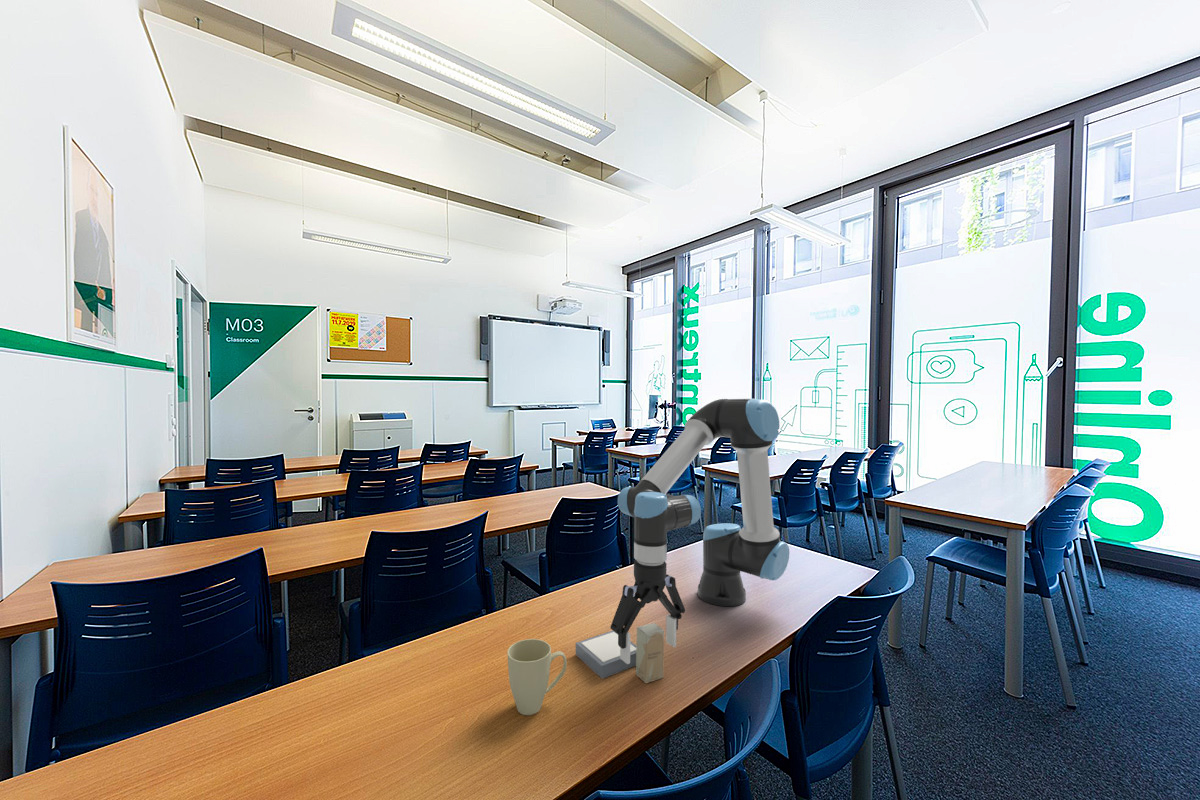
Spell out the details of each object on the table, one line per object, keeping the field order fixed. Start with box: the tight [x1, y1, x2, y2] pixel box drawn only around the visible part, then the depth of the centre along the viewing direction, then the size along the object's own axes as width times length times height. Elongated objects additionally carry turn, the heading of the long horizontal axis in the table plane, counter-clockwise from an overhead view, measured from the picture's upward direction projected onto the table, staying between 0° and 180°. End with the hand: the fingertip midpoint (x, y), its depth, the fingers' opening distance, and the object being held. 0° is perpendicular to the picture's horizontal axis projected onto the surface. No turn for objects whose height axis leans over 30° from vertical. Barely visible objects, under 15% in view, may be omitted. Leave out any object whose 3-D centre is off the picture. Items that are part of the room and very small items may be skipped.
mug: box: [506, 638, 568, 716], centre depth 98 cm, size 11×10×12 cm
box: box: [635, 622, 665, 684], centre depth 108 cm, size 5×4×11 cm
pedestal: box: [575, 630, 637, 680], centre depth 115 cm, size 12×12×3 cm
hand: (648, 652), depth 108 cm, fingers open, 13 cm apart
